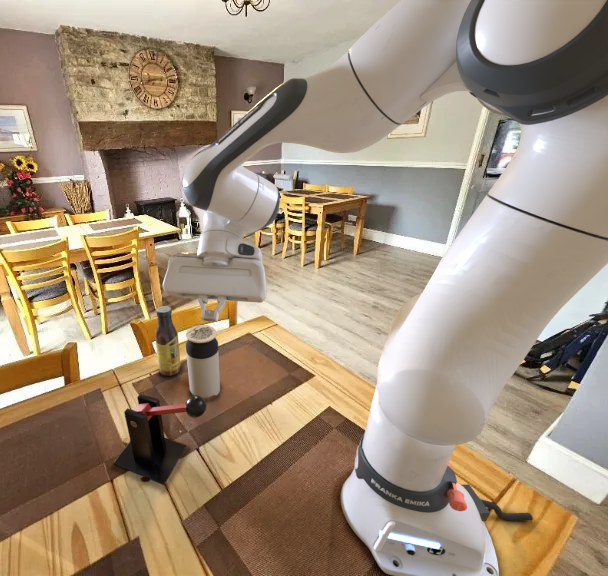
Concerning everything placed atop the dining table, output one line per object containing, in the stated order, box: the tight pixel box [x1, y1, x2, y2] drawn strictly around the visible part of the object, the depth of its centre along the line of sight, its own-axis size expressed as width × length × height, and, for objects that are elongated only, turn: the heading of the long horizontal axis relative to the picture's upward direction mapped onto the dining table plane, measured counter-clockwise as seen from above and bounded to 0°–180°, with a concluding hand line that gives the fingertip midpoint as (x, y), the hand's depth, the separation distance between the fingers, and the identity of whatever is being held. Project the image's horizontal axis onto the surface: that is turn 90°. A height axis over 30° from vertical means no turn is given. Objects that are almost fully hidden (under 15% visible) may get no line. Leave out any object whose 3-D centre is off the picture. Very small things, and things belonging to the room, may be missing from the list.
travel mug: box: [185, 324, 221, 399], centre depth 79 cm, size 8×8×18 cm
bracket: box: [112, 393, 188, 486], centre depth 61 cm, size 12×9×15 cm
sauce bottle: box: [154, 305, 182, 377], centre depth 86 cm, size 6×6×20 cm
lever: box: [133, 395, 208, 420], centre depth 56 cm, size 16×4×4 cm, turn 67°
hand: (209, 320), depth 58 cm, fingers closed
